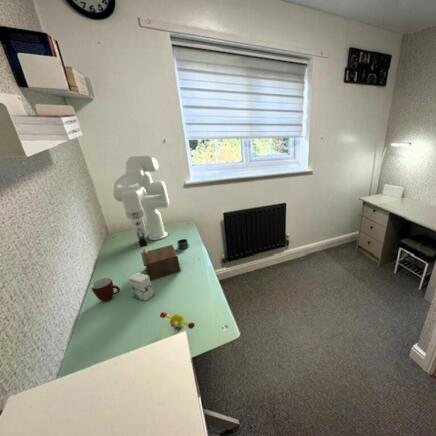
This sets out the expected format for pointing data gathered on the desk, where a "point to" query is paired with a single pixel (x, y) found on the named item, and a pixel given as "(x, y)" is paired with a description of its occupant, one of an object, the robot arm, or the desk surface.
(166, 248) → the lid
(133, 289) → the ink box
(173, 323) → the spiky dumbbell toy
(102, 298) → the mug
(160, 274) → the chest
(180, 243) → the bowl
